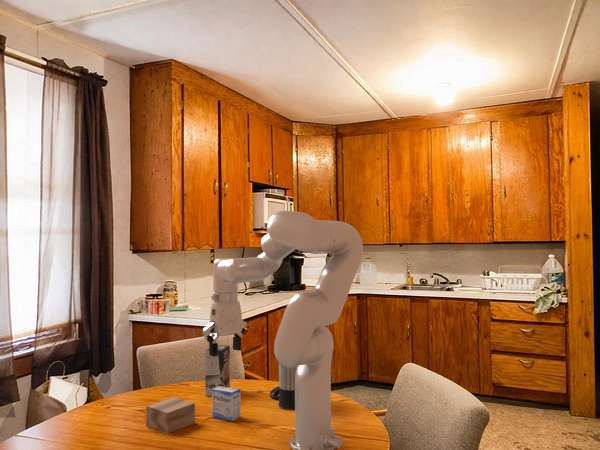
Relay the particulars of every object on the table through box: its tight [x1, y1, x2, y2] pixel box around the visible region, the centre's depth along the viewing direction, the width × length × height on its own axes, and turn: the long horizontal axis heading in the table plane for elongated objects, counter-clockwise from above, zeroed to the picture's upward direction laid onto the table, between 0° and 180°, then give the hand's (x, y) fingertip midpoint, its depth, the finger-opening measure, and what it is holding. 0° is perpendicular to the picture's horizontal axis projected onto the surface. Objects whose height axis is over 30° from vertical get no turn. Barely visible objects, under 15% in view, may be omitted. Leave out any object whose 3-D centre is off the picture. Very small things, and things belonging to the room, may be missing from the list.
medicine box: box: [211, 386, 241, 422], centre depth 146 cm, size 8×4×9 cm, turn 62°
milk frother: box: [269, 361, 297, 411], centre depth 160 cm, size 14×16×15 cm
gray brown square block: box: [145, 396, 196, 434], centre depth 141 cm, size 10×10×6 cm
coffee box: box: [204, 344, 231, 397], centre depth 171 cm, size 9×6×16 cm
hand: (225, 352), depth 147 cm, fingers open, 9 cm apart
